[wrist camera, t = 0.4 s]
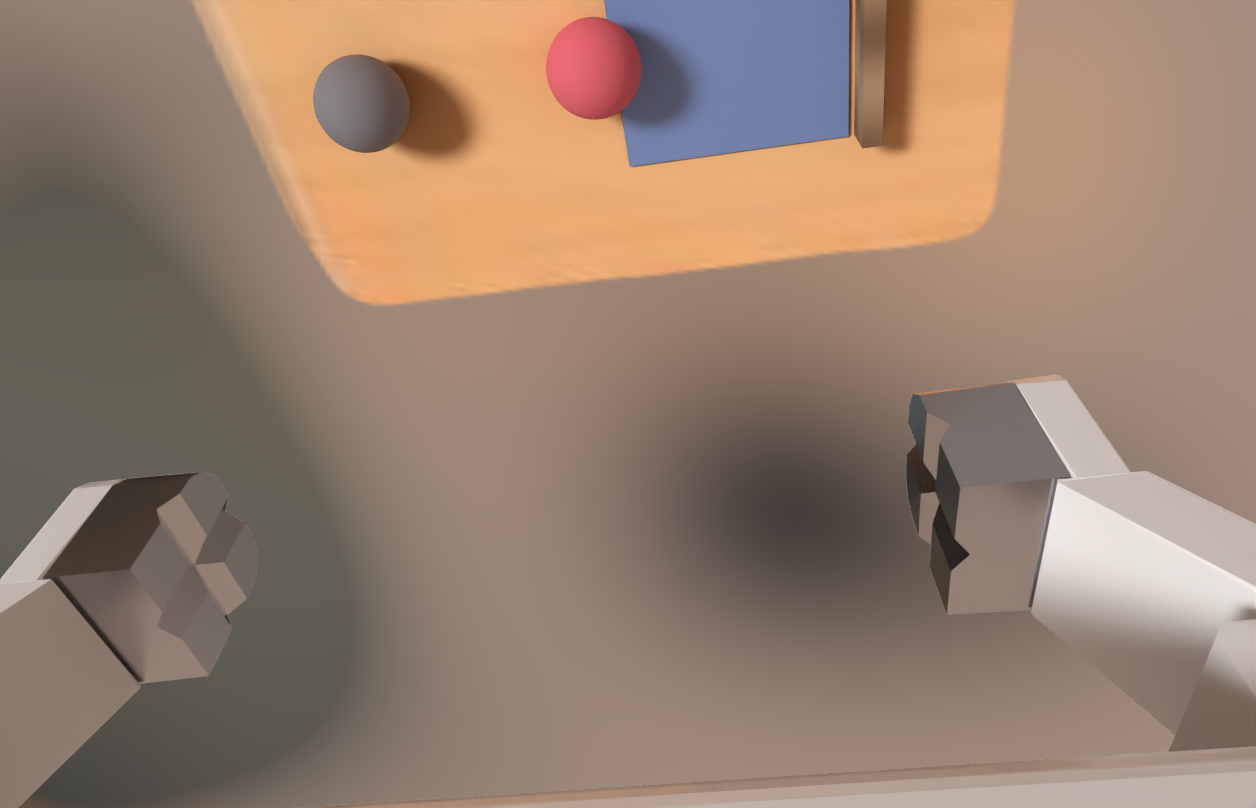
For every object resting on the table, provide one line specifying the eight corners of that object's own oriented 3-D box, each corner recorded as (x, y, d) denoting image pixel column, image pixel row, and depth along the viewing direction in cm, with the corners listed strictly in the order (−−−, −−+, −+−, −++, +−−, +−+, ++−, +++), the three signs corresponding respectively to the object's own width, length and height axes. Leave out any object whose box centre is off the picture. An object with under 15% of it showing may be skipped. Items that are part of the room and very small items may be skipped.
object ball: (542, 15, 49) (532, 38, 45) (634, 0, 49) (633, 22, 44) (560, 108, 53) (552, 139, 48) (647, 95, 52) (647, 125, 48)
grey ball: (316, 51, 51) (285, 77, 47) (403, 37, 50) (380, 62, 46) (347, 140, 54) (321, 172, 50) (429, 127, 54) (410, 159, 49)
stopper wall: (857, -123, 45) (866, -118, 43) (879, -127, 45) (890, -122, 43) (854, 134, 53) (862, 148, 51) (873, 131, 53) (882, 145, 51)
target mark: (592, -78, 47) (592, -77, 46) (849, -122, 45) (850, -121, 45) (629, 165, 55) (629, 166, 55) (847, 135, 53) (848, 136, 53)
